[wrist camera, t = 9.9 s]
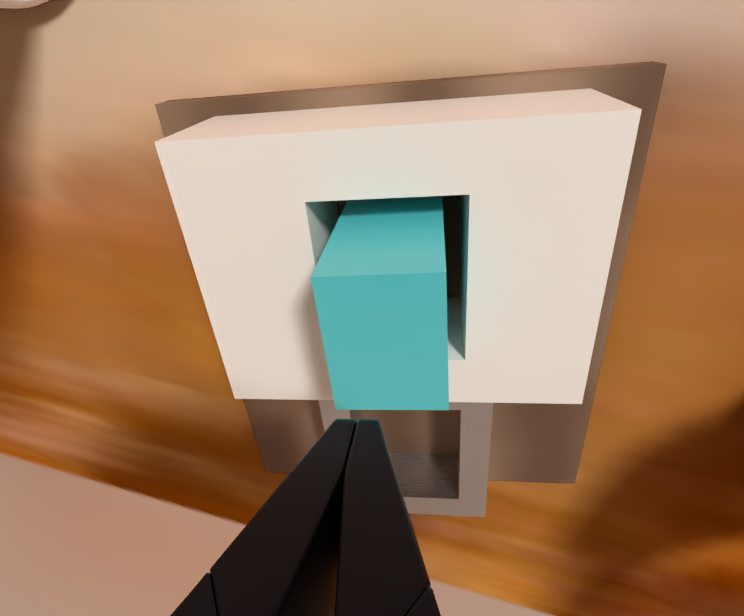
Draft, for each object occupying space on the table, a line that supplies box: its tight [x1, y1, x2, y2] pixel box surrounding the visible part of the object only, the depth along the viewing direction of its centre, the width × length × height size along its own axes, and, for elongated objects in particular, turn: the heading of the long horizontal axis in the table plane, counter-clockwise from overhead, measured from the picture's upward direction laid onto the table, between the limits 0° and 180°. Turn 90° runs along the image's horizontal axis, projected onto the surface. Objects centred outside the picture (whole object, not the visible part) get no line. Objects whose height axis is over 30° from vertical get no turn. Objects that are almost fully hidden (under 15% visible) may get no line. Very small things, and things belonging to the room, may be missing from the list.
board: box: [155, 62, 667, 484], centre depth 20 cm, size 16×18×1 cm
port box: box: [154, 88, 642, 404], centre depth 15 cm, size 12×9×4 cm
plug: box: [311, 196, 449, 410], centre depth 14 cm, size 3×4×7 cm
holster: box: [319, 400, 493, 517], centre depth 21 cm, size 7×8×2 cm
